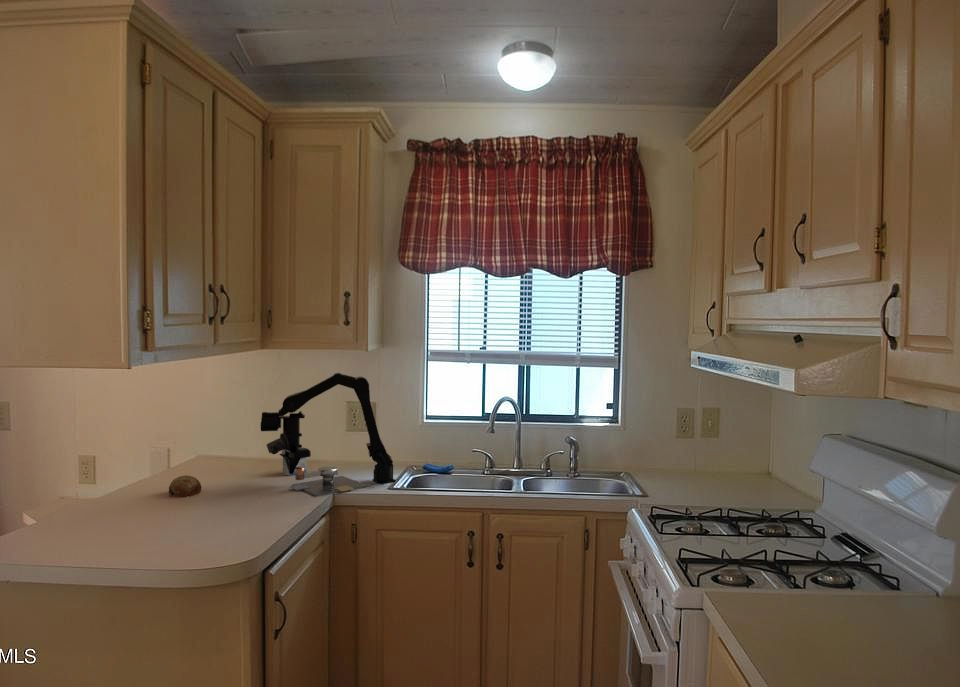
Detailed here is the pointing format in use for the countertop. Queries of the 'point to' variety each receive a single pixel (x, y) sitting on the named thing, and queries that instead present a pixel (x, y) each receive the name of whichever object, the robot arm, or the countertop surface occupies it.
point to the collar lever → (315, 472)
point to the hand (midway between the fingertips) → (291, 473)
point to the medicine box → (300, 464)
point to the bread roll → (184, 486)
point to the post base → (328, 485)
